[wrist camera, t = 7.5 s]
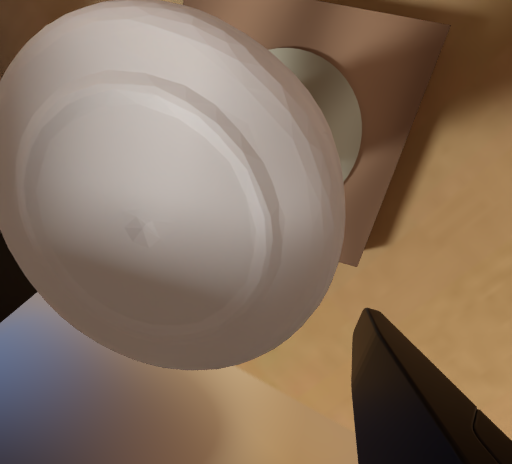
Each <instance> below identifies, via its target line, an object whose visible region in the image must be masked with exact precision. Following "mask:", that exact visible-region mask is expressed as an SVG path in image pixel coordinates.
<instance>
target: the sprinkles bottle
mask: <svg viewBox="0 0 512 464" xmlns="http://www.w3.org/2000/svg"><path fill="white" fill-rule="evenodd" d="M344 229H345V195H344V184H343V176H342V169H341V164H340V159H339V155H338V152H337V148H336V145H335V142H334V139H333V136H332V132H331V129H330V127H329V125H328V123H327V121H326V119H325V117H324V115H323V113H322V111H321V109H320V108H319V106H318V105H317V103H316V101H315V100H314V98H313V97H312V95H311V94H310V92H309V91H308V90H307V88H306V87H305V86H304V85H303V84H302V83H301V81H300V80H299V79H298V78H297V77H296V75H295V74H294V73H293V72H292V71H291V70H290V69H289V68H288V67H286V66H285V65H284V64H283V63H282V62H281V61H280V60H279V59H278V58H277V57H276V56H275V55H273V54H272V53H271V52H270V51H269V50H267V49H266V48H265V47H263V46H262V45H261V44H259V43H258V42H257V41H255V40H254V39H252V38H251V37H250V36H248V35H247V34H245V33H243V32H242V31H240V30H238V29H236V28H235V27H233V26H231V25H229V24H228V23H226V22H224V21H223V20H221V19H219V18H217V17H215V16H213V15H210V14H208V13H206V12H203V11H201V10H198V9H195V8H192V7H188V6H185V5H181V4H176V3H170V2H165V1H160V0H113V1H105V2H100V3H97V4H93V5H90V6H87V7H84V8H81V9H78V10H75V11H72V12H70V13H67V14H65V15H63V16H61V17H60V18H58V19H57V20H55V21H53V22H52V23H50V24H48V25H46V26H45V27H44V28H43V29H41V30H40V31H39V32H38V33H37V34H36V35H34V36H33V37H32V38H31V39H30V40H29V41H28V42H27V43H26V44H25V45H24V46H23V47H22V49H21V50H20V51H19V52H18V54H17V55H16V56H15V58H14V59H13V61H12V62H11V63H10V65H9V66H8V68H7V70H6V71H5V73H4V75H3V77H2V79H1V81H0V230H1V233H2V235H3V237H4V239H5V242H6V244H7V246H8V248H9V250H10V252H11V253H12V255H13V257H14V258H15V260H16V262H17V263H18V265H19V267H20V268H21V270H22V271H23V273H24V274H25V276H26V277H27V279H28V280H29V282H30V283H31V284H32V285H33V287H34V288H35V289H36V290H37V292H38V293H39V294H40V295H41V296H42V297H43V298H44V300H45V301H46V302H47V303H48V304H49V305H50V306H51V307H52V308H53V309H54V310H55V311H56V312H57V313H58V314H59V315H60V316H61V317H62V318H63V319H65V320H66V321H67V322H68V323H70V324H71V325H72V326H73V327H75V328H76V329H77V330H79V331H80V332H82V333H83V334H85V335H86V336H88V337H89V338H91V339H93V340H94V341H96V342H97V343H99V344H101V345H103V346H105V347H107V348H109V349H111V350H113V351H115V352H117V353H119V354H121V355H124V356H126V357H129V358H131V359H134V360H137V361H140V362H143V363H146V364H150V365H154V366H158V367H163V368H171V369H181V370H207V369H220V368H225V367H229V366H234V365H238V364H241V363H244V362H247V361H249V360H252V359H255V358H257V357H259V356H261V355H263V354H265V353H267V352H269V351H271V350H273V349H275V348H276V347H277V346H279V345H280V344H282V343H283V342H284V341H286V340H287V339H288V338H290V337H291V336H292V335H293V334H294V333H295V332H296V331H297V330H298V329H299V328H301V327H302V325H303V324H304V323H305V322H306V321H307V319H308V318H309V317H310V316H311V315H312V313H313V312H314V311H315V310H316V309H317V307H318V306H319V305H320V303H321V301H322V299H323V298H324V296H325V294H326V292H327V290H328V288H329V286H330V284H331V282H332V279H333V276H334V274H335V271H336V268H337V265H338V262H339V259H340V255H341V250H342V245H343V240H344Z"/></svg>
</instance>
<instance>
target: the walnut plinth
mask: <svg viewBox="0 0 512 464" xmlns="http://www.w3.org/2000/svg"><path fill="white" fill-rule="evenodd" d="M183 5H185V6H188V7H192V8H195V9H198V10H201V11H203V12H206V13H208V14H210V15H213V16H215V17H217V18H219V19H221V20H223V21H224V22H226V23H228V24H229V25H231V26H233V27H235V28H236V29H238V30H240V31H242V32H243V33H245V34H247V35H248V36H250V37H251V38H252V39H254V40H255V41H257V42H258V43H259V44H261V45H262V46H263V47H265V48H266V49H267V50H269V51H270V52H271V53H272V54H273V55H275V56H276V57H277V58H278V59H279V60H280V61H281V62H282V63H283V64H284V65H285V66H286V67H288V68H289V69H290V70H291V71H292V72H293V73H294V74H295V75H296V77H297V78H298V79H299V80H300V81H301V83H302V84H303V85H304V86H305V87H306V88H307V90H308V91H309V92H310V94H311V95H312V97H313V98H314V100H315V101H316V103H317V105H318V106H319V108H320V109H321V111H322V113H323V115H324V117H325V119H326V121H327V123H328V125H329V127H330V129H331V132H332V136H333V139H334V142H335V145H336V148H337V152H338V155H339V159H340V164H341V169H342V176H343V184H344V195H345V229H344V240H343V245H342V250H341V255H340V259H339V262H341V263H344V264H348V265H351V266H355V267H357V266H358V263H359V261H360V258H361V256H362V253H363V251H364V248H365V245H366V243H367V240H368V238H369V235H370V232H371V230H372V227H373V225H374V222H375V220H376V217H377V214H378V212H379V209H380V207H381V204H382V201H383V199H384V196H385V194H386V191H387V189H388V186H389V183H390V181H391V178H392V176H393V173H394V171H395V168H396V165H397V163H398V160H399V158H400V155H401V152H402V150H403V147H404V145H405V142H406V140H407V137H408V134H409V132H410V129H411V127H412V124H413V121H414V119H415V116H416V114H417V111H418V109H419V106H420V103H421V101H422V98H423V96H424V93H425V91H426V88H427V85H428V83H429V80H430V78H431V75H432V72H433V70H434V67H435V65H436V62H437V60H438V57H439V54H440V52H441V49H442V47H443V44H444V41H445V39H446V36H447V34H448V31H449V29H450V26H451V25H447V24H441V23H436V22H430V21H425V20H420V19H414V18H409V17H403V16H398V15H393V14H387V13H382V12H376V11H371V10H366V9H360V8H355V7H349V6H344V5H339V4H333V3H328V2H322V1H317V0H184V2H183Z"/></svg>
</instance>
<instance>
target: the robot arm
mask: <svg viewBox="0 0 512 464" xmlns="http://www.w3.org/2000/svg"><path fill="white" fill-rule="evenodd" d="M35 293H37V290H36V289H35V288H34V287H33V285H32V284H31V283H30V282H29V280H28V279H27V277H26V276H25V274H24V273H23V271H22V270H21V268H20V267H19V265H18V263H17V262H16V260H15V258H14V257H13V255H12V253H11V252H10V250H9V248H8V246H7V244H6V242H5V239H4V237H3V235H2V233H1V230H0V322H2V321H3V320H4V319H5V318H7V317H8V316H9V315H10V314H11V313H13V312H14V311H15V310H16V309H17V308H19V307H20V306H21V305H22V304H23V303H24V302H26V301H27V300H28V299H29V298H31V297H32V296H33V295H34V294H35ZM351 387H352V400H353V411H354V422H355V433H356V443H357V454H358V464H512V440H510V439H509V438H508V437H507V436H506V435H505V434H504V433H503V432H502V431H501V430H500V429H499V428H498V427H497V426H496V425H495V424H494V423H493V422H492V421H491V420H490V419H489V418H488V417H487V416H486V415H485V414H484V413H483V412H482V411H481V410H479V409H477V407H476V406H475V405H474V404H473V403H472V402H471V401H470V400H469V399H468V398H467V397H466V396H465V395H464V394H463V393H462V392H461V391H460V390H459V389H458V388H457V387H456V386H455V385H454V384H453V383H452V382H451V381H450V380H449V379H448V378H447V377H446V376H445V375H444V374H443V373H442V372H441V371H440V370H439V369H438V368H437V367H436V366H435V365H434V364H433V363H432V362H431V361H430V360H429V359H428V358H427V357H426V356H425V355H424V354H423V353H422V352H421V351H420V350H419V349H417V348H416V347H415V346H414V345H413V344H412V343H411V342H410V341H409V340H408V339H407V338H406V337H405V336H404V335H403V334H402V333H401V332H400V331H399V330H398V329H397V328H396V327H395V326H394V325H393V324H392V323H391V322H390V321H389V320H388V319H387V318H386V317H385V316H384V315H383V314H382V313H381V312H379V311H377V310H374V309H370V308H365V309H364V310H363V311H362V313H361V316H360V318H359V320H358V323H357V325H356V327H355V329H354V333H353V342H352V377H351Z"/></svg>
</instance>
